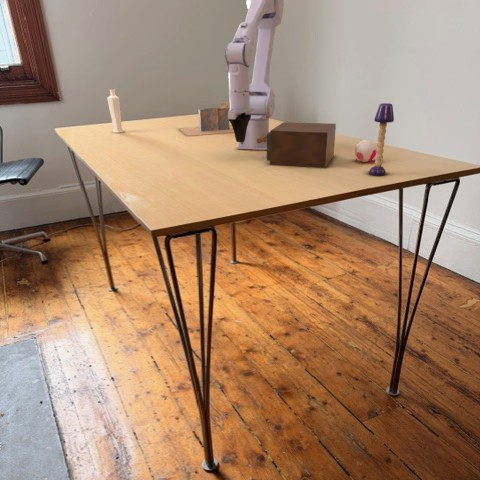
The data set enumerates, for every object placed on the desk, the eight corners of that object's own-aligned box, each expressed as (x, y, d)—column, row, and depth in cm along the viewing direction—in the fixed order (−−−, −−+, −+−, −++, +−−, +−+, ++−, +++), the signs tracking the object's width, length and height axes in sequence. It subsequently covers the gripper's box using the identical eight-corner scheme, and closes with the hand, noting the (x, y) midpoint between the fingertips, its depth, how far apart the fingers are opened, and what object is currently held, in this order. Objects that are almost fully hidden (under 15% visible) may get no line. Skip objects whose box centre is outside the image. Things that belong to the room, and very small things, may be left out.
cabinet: (270, 164, 137) (270, 130, 132) (282, 153, 148) (283, 122, 144) (325, 167, 132) (327, 132, 128) (333, 156, 144) (335, 123, 139)
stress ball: (368, 176, 136) (384, 157, 131) (346, 158, 135) (361, 138, 131) (372, 169, 142) (388, 150, 137) (351, 151, 141) (366, 132, 137)
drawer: (252, 160, 138) (252, 133, 134) (265, 150, 149) (265, 125, 145) (317, 163, 133) (319, 135, 129) (325, 153, 144) (327, 127, 140)
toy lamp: (366, 171, 128) (374, 102, 119) (384, 171, 128) (393, 102, 119) (370, 175, 124) (378, 105, 115) (388, 175, 123) (398, 104, 115)
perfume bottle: (127, 131, 190) (121, 89, 182) (119, 133, 186) (112, 90, 179) (118, 130, 192) (112, 88, 184) (110, 132, 189) (104, 89, 181)
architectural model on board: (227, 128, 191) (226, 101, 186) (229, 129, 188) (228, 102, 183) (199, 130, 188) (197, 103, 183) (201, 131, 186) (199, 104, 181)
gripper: (244, 94, 129) (245, 147, 136) (260, 88, 141) (260, 137, 148) (220, 94, 131) (222, 146, 138) (237, 88, 143) (238, 136, 150)
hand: (240, 141), depth 143 cm, fingers closed
